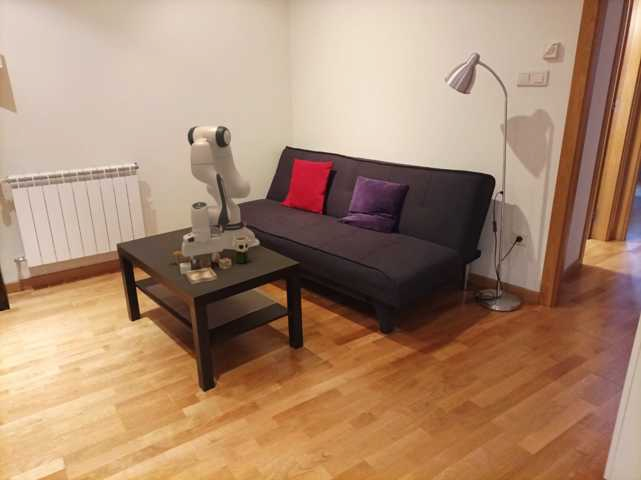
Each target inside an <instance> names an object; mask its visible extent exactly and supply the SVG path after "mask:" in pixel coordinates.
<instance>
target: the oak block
mask: <svg viewBox="0 0 641 480" xmlns="http://www.w3.org/2000/svg"><path fill="white" fill-rule="evenodd" d="M218 267H219V268H220V269H222V270H227V269H231V268H232V259H230V258H228V257H225V258H224V257H223V258H220V260H219V263H218Z"/></svg>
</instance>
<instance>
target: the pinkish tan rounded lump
mask: <svg viewBox="0 0 641 480" xmlns="http://www.w3.org/2000/svg"><path fill="white" fill-rule="evenodd" d="M213 255H214V254H213V253H211V257H213ZM220 259H221V255H220V252H217V255H216V257H215V261H212V260H211V263H213V264H219V260H220Z"/></svg>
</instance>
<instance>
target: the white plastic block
mask: <svg viewBox="0 0 641 480" xmlns="http://www.w3.org/2000/svg"><path fill="white" fill-rule="evenodd" d="M191 262H192V261H191ZM191 262H181V263H180V265H179V269H180V275H186V272H187V271H192V263H191Z"/></svg>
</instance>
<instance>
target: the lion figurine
mask: <svg viewBox="0 0 641 480" xmlns="http://www.w3.org/2000/svg"><path fill="white" fill-rule="evenodd" d="M194 257H195V255H194V256H193V258H194ZM179 258H180V259H187V263H189V262H191V264H193V261H192V259H191V258H190V256H188V257H184V256H183V255H182V251H174V252H173V253H172V255H171V258H170V259H171V260H170V262H169V264H168V265H172V264H173V265H174V264H175V263H176V264H177V265H178V266H180V263H179V262H178V261H179ZM174 261H175V262H174Z"/></svg>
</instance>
